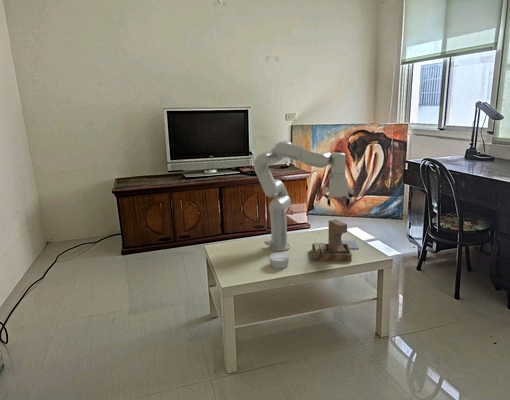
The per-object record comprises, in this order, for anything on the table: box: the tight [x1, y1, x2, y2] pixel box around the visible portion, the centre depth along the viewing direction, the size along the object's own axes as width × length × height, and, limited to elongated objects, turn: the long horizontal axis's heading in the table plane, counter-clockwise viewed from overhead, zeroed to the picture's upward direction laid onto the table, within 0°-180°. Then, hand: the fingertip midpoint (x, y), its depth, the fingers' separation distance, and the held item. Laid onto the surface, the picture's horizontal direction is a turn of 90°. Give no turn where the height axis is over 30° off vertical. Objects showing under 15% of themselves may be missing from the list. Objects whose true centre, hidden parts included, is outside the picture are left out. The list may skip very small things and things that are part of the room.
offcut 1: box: [314, 242, 320, 254], centre depth 208 cm, size 2×10×6 cm, turn 174°
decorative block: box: [327, 219, 348, 254], centre depth 205 cm, size 11×6×20 cm, turn 20°
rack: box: [311, 243, 353, 262], centre depth 207 cm, size 21×17×4 cm
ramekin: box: [268, 252, 290, 270], centre depth 197 cm, size 11×11×5 cm
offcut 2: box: [319, 242, 325, 254], centre depth 207 cm, size 2×10×6 cm, turn 174°
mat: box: [341, 240, 359, 250], centre depth 221 cm, size 9×13×1 cm
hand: (338, 205), depth 200 cm, fingers open, 9 cm apart
